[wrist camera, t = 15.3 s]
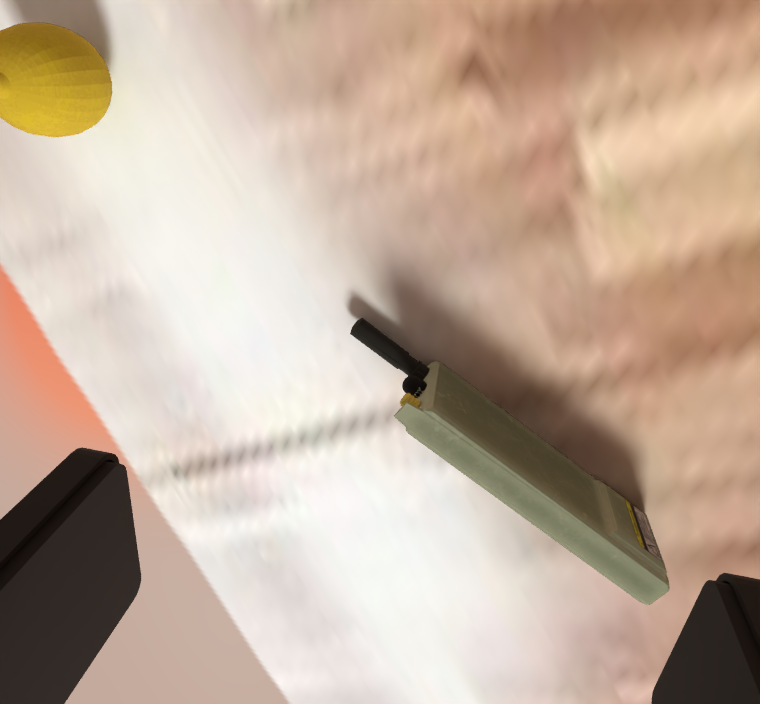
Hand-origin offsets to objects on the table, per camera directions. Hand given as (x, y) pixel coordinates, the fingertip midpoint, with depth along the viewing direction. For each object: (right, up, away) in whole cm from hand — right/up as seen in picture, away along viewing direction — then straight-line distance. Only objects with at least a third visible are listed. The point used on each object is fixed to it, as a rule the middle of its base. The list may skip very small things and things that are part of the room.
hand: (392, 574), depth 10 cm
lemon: (-17, +20, +26) cm, 37 cm away
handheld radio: (+8, -1, +32) cm, 33 cm away
